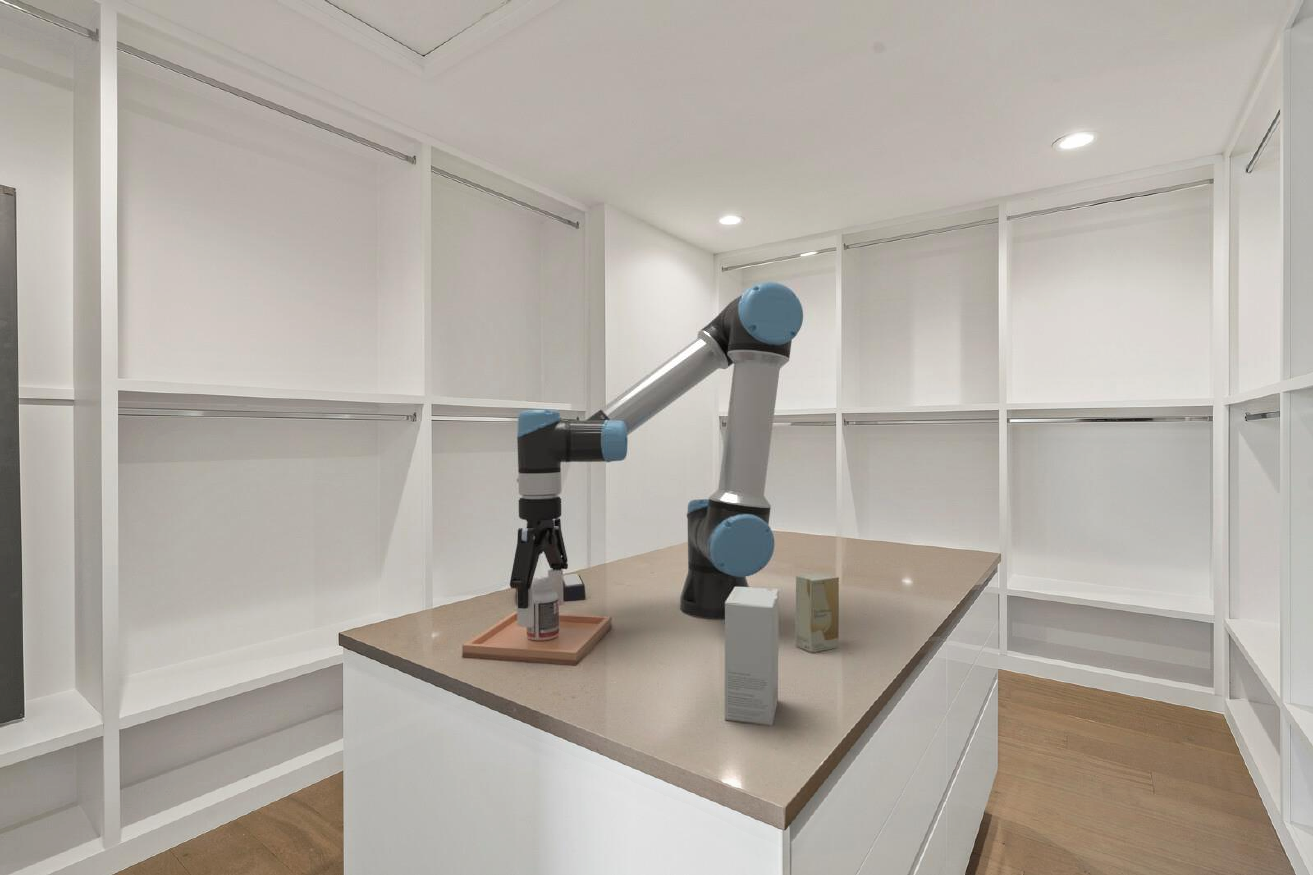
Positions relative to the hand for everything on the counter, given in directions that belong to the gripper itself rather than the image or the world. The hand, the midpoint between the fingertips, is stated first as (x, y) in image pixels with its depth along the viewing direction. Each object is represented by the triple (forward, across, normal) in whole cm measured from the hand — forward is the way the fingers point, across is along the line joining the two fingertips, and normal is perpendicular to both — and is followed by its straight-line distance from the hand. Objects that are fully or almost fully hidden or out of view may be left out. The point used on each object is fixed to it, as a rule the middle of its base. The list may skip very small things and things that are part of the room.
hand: (541, 615), depth 114 cm
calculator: (+5, -30, -11) cm, 32 cm away
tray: (+5, 0, 0) cm, 5 cm away
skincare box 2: (+5, -6, +48) cm, 49 cm away
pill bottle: (+4, 0, 0) cm, 4 cm away
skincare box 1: (+5, +21, +39) cm, 45 cm away
